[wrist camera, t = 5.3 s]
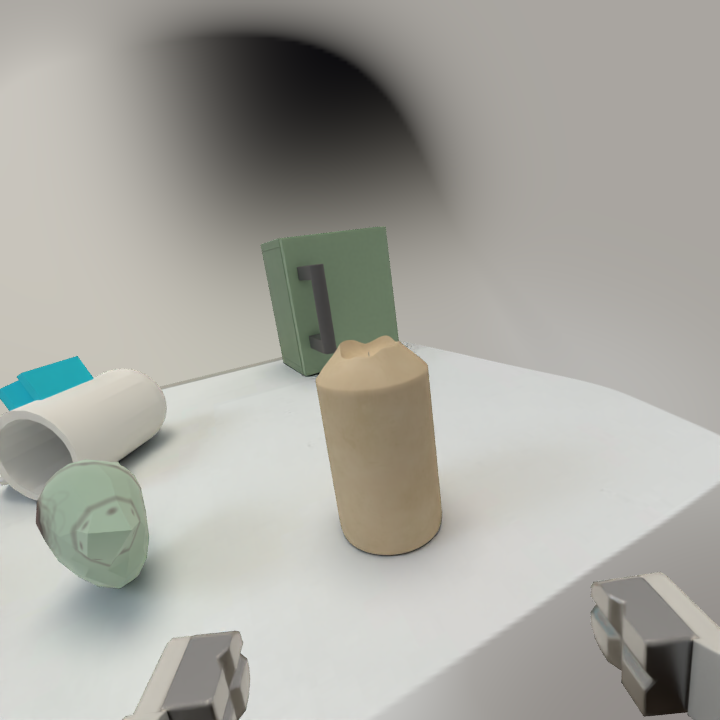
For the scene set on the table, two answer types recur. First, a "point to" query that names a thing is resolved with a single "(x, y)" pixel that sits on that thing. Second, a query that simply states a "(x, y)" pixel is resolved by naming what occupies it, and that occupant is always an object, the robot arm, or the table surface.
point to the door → (338, 291)
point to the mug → (73, 420)
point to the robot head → (95, 521)
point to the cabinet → (283, 302)
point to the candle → (381, 445)
